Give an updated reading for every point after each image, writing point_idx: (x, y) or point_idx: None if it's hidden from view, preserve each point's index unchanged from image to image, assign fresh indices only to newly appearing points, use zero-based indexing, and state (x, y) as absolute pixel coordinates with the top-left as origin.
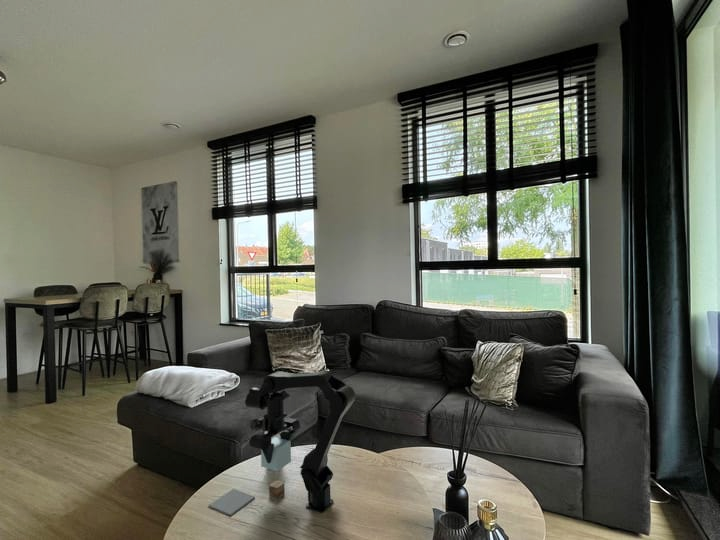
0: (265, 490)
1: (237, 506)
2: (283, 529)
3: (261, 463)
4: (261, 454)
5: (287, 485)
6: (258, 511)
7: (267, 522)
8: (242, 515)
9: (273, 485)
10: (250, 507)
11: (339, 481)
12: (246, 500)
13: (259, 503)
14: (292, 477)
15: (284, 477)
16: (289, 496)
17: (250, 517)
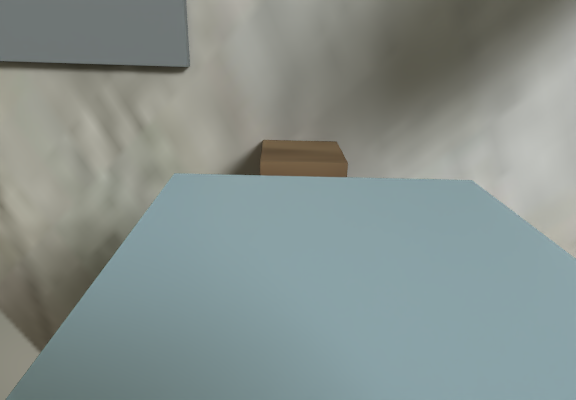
0: (302, 66)
1: (32, 32)
2: None
3: (164, 189)
4: (104, 275)
5: (414, 171)
6: (108, 189)
7: (77, 291)
8: (18, 127)
9: None
10: (103, 114)
11: None
12: (120, 40)
13: (167, 138)
14: (517, 139)
15: (504, 82)
16: None
17: (41, 186)
